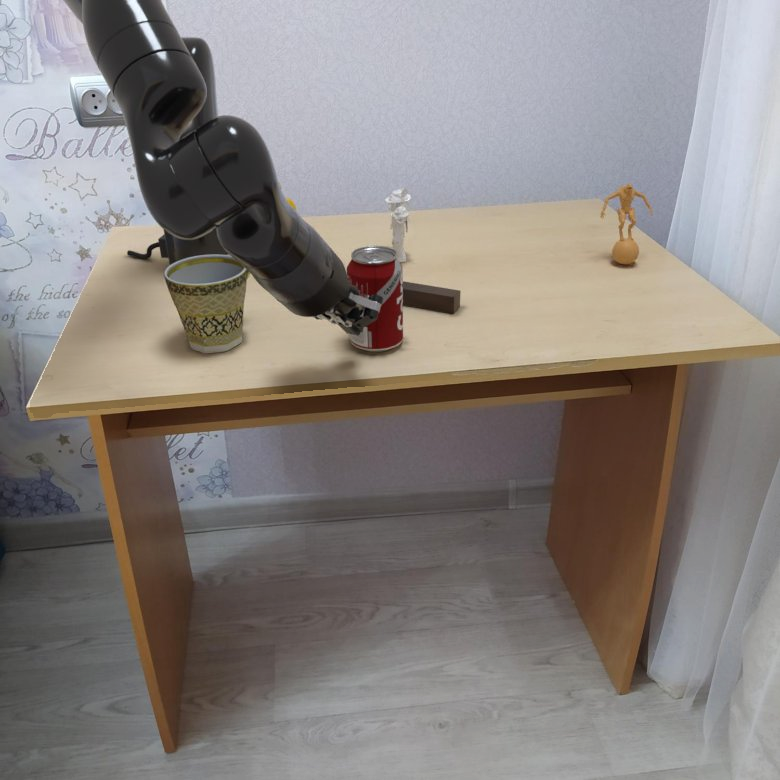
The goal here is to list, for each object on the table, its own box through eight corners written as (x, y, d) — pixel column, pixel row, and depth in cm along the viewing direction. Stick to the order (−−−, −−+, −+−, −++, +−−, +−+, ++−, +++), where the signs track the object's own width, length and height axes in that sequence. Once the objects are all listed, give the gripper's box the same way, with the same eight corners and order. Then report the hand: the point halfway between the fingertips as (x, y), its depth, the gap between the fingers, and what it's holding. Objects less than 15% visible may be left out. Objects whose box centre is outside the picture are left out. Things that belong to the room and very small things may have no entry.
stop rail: (460, 307, 107) (460, 290, 106) (453, 314, 105) (454, 297, 104) (382, 293, 111) (381, 277, 110) (374, 300, 109) (374, 283, 108)
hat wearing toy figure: (413, 267, 120) (413, 191, 114) (388, 268, 120) (386, 192, 114) (408, 247, 128) (407, 175, 122) (384, 248, 127) (383, 176, 121)
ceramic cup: (218, 367, 93) (206, 290, 88) (159, 348, 98) (145, 274, 93) (285, 326, 103) (279, 255, 97) (229, 310, 107) (220, 242, 102)
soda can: (364, 360, 94) (360, 268, 88) (341, 338, 99) (336, 249, 93) (412, 347, 97) (412, 257, 91) (388, 327, 102) (386, 240, 96)
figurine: (603, 270, 118) (613, 192, 112) (588, 256, 123) (597, 181, 117) (654, 266, 119) (667, 189, 113) (638, 252, 124) (649, 178, 118)
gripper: (227, 290, 78) (298, 346, 93) (344, 311, 73) (398, 367, 88) (251, 223, 79) (317, 289, 95) (367, 240, 74) (416, 307, 90)
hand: (356, 327), depth 92 cm, fingers closed
